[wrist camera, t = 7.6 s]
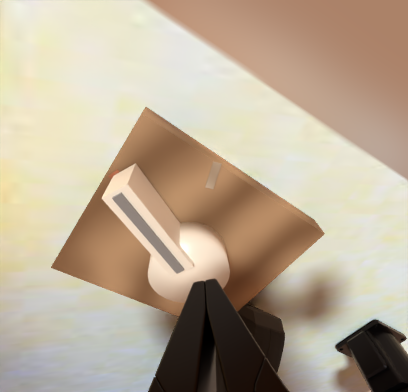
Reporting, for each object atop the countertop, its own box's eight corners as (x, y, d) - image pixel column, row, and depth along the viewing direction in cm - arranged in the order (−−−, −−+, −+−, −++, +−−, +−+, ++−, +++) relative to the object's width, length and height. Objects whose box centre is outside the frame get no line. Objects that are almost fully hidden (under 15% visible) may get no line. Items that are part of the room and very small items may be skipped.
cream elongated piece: (237, 260, 22) (244, 291, 19) (176, 287, 23) (175, 320, 21) (162, 148, 17) (159, 168, 14) (88, 189, 18) (71, 216, 15)
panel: (315, 218, 23) (326, 233, 22) (214, 313, 29) (216, 331, 27) (146, 105, 18) (142, 111, 16) (60, 251, 23) (50, 268, 21)
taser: (290, 310, 25) (274, 539, 18) (205, 305, 40) (178, 432, 33) (255, 298, 24) (224, 541, 17) (180, 298, 38) (147, 428, 31)
